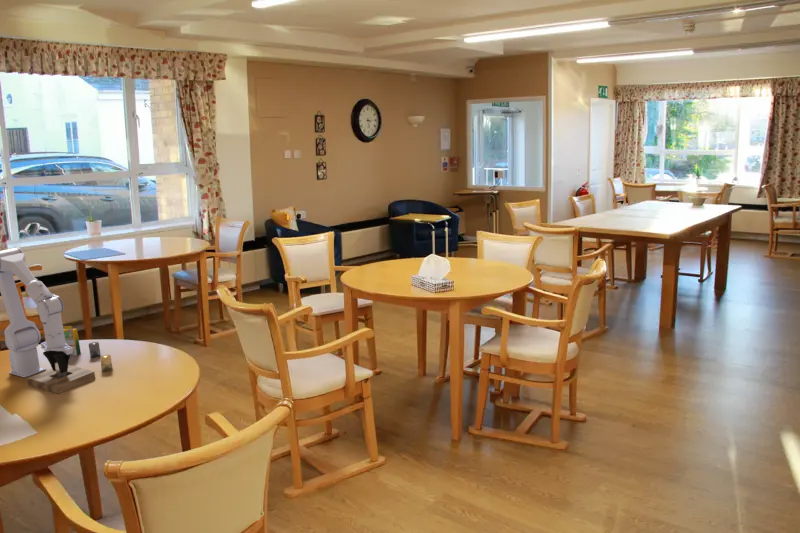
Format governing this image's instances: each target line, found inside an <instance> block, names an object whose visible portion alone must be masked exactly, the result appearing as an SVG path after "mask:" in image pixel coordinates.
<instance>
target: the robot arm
mask: <svg viewBox="0 0 800 533" xmlns="http://www.w3.org/2000/svg"><path fill="white" fill-rule="evenodd" d="M26 260H27V259H26V254H25V253H24V251H23V249H21V248H20V247H17V246H15V247H13V248H8V249H4V250H3V249H2V250H0V296H1V299H2V302H3V305H4V307H5V310H6V314H7V317H8V321H9V324H8V325H7V327H6V328H5V329H4V333H3V334H4V342H5V343H4V344H5V345H6V347H7V349H9V354H8V357H9V358H8V359H9V363H10V368H11V369H10V370H11V371H9V374H11V375H15V376H18V377H22V378H29V377H31V376H34V375H37V374H39V373H42V372H45V371H47V370H46V368H45V367H41V365H40V360H39V355H38V350H37V349H38V348H37V347H38V346H39V343H40V348H41V349H43V353H42V355H43V356H44V357H45V358H46V359H47V361H48V363H49V365H50V367H51V369H53V371H56V369H55V361H57V363H58V366H59V370H60V372H61V373H64V372H67V371H68V365H69V363H70V358H71V357H72V355H71V354H72V353H73V349H72V347H70V346H69V345H67V344H66V343H65V337H64V330H63V329H64V327H63V326H64V324H63V319H62V312H63V311H64V306H65V305H64V303H63V299H61V297H60V296H59V295H56V294H54V293H52V292H51V291H50V290H49V288H48V287H47V286H46V285H45V284H44V283H43V281H41V280H37V279H36V277H35V276H34V275H33V273H32V272H31V270H30V268H29V267H28V265H27V263H26ZM14 275H15V276H16V278H18V279H19V280H20V281H21V283H23V285H25V287H26V288H25V293H26V294H27V295H28V297H30V299H31V300H32V301H33V302H34V304H35V305H36V308H35V310H36V312H37V314H38V316H39V320H40V322H41V323H42V326H43V327H42V328H43V331H44V337H45V338H44V340H45V341H43V342H41V339H42V338H41V337H42V336H41V333H40V330H39V329H38V327H37V326H36V323H35V322H34V321H31V320H29V319H27V316H26V314H25V310H24V307H23V304H22V300H21V298H20V295H19V291H18V287H17V285H16V282H15V278H14Z"/></svg>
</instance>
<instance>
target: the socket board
mask: <svg viewBox="0 0 800 533" xmlns="http://www.w3.org/2000/svg"><path fill="white" fill-rule="evenodd" d="M26 379H27V384H28V386H31V387H34V388H38V389H41V390H43V391H48V392H51V393H55V394H60V393H63V392H65V391H68V390H70V389H72V388H75V387H77V386H79V385H83V384H86V383H87V382H89V381H92V380H94V379H96V374H95V371H94V370H91V369H86V368H82V367H79V366H75V365H71V364H68V375H67V376H65V377H57V376H56V371H53V369H52V368H51V369H47V370H44V371H41V372H39V373H36V374H33V375H30V376H28V377H26Z"/></svg>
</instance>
